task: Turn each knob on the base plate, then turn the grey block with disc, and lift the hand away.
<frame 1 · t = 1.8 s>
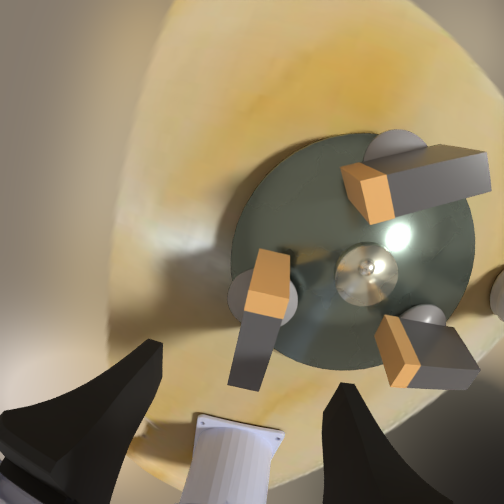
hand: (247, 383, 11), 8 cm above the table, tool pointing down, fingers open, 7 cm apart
base plate: (360, 263, 17), on the table
grey block with disc 3: (426, 352, 15), point 4 cm above the table, hinge at 0.0°
knob 1: (259, 318, 15), point 4 cm above the table, hinge at 0.0°
knob 2: (411, 175, 12), point 4 cm above the table, hinge at 0.0°
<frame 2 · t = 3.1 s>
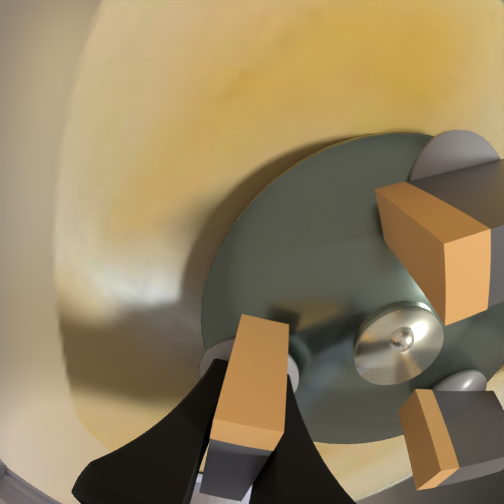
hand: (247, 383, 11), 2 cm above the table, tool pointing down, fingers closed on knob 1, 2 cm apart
base plate: (389, 322, 11), on the table
grey block with disc 3: (462, 432, 9), point 4 cm above the table, hinge at 0.0°
knob 1: (242, 415, 9), point 4 cm above the table, hinge at 0.0°, touching gripper
knob 2: (494, 212, 6), point 4 cm above the table, hinge at 0.0°
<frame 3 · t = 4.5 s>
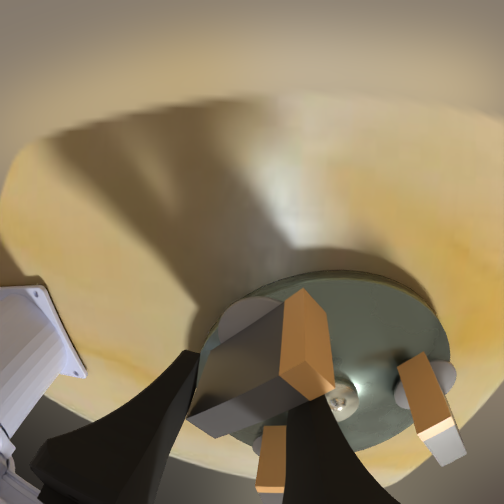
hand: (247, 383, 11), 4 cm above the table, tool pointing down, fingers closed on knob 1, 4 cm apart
base plate: (325, 383, 16), on the table
grey block with disc 3: (278, 472, 15), point 4 cm above the table, hinge at 0.0°
knob 1: (259, 364, 12), point 4 cm above the table, hinge at 33.7°, touching gripper
knob 2: (435, 412, 12), point 4 cm above the table, hinge at 0.0°
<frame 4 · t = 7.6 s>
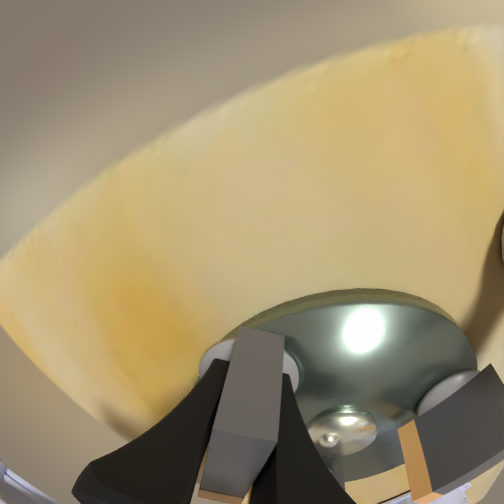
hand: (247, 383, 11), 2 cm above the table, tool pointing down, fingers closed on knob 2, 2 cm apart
base plate: (338, 411, 14), on the table
grey block with disc 3: (461, 435, 9), point 4 cm above the table, hinge at 0.0°
knob 2: (239, 422, 10), point 4 cm above the table, hinge at 0.0°, touching gripper
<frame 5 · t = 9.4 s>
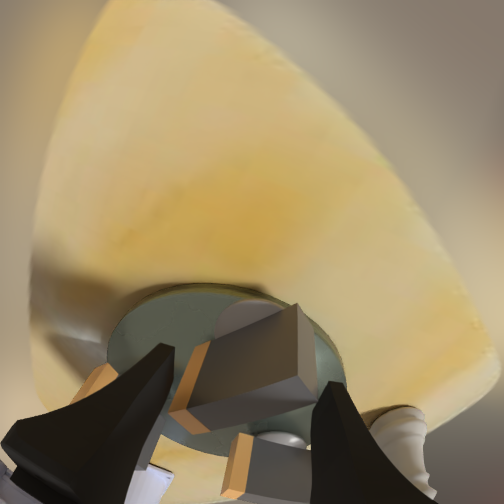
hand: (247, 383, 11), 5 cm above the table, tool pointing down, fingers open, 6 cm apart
base plate: (223, 387, 18), on the table
grey block with disc 3: (271, 472, 16), point 4 cm above the table, hinge at 0.0°
knob 1: (118, 417, 15), point 4 cm above the table, hinge at 53.9°
knob 2: (245, 369, 12), point 4 cm above the table, hinge at 23.4°
rook chess piece: (395, 420, 18), on the table
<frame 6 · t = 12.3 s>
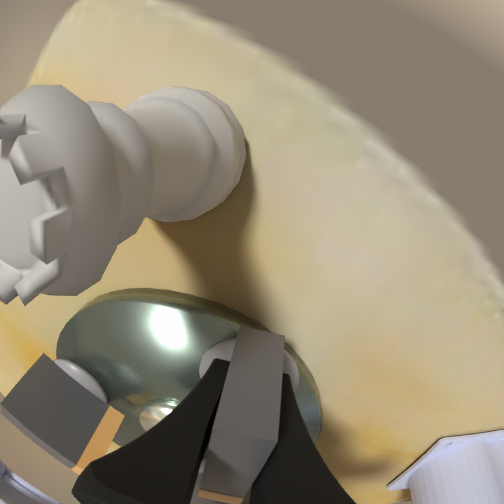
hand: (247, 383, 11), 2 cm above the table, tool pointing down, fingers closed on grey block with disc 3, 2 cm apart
base plate: (181, 404, 15), on the table
grey block with disc 3: (239, 422, 10), point 4 cm above the table, hinge at 0.0°, touching gripper
knob 1: (209, 501, 14), point 4 cm above the table, hinge at 54.1°
knob 2: (63, 415, 12), point 4 cm above the table, hinge at 32.1°
rook chess piece: (186, 151, 10), on the table
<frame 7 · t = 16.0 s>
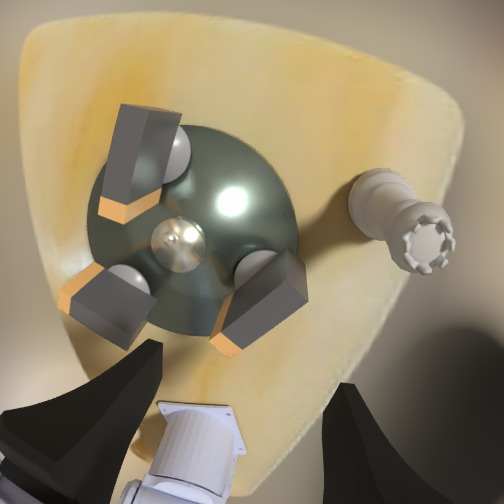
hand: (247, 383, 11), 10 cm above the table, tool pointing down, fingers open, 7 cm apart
base plate: (186, 236, 21), on the table
grey block with disc 3: (259, 300, 17), point 4 cm above the table, hinge at 36.9°
knob 1: (109, 302, 19), point 4 cm above the table, hinge at 54.1°
knob 2: (142, 159, 15), point 4 cm above the table, hinge at 32.6°
rook chess piece: (378, 200, 18), on the table
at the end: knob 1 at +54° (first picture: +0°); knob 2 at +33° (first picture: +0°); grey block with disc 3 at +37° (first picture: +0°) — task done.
